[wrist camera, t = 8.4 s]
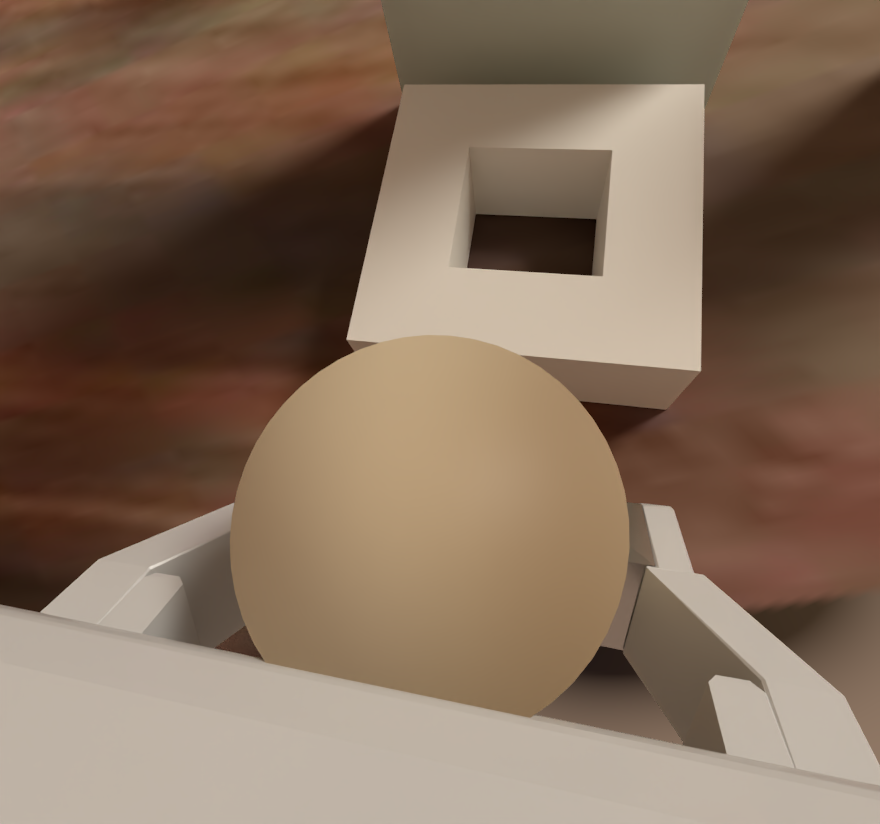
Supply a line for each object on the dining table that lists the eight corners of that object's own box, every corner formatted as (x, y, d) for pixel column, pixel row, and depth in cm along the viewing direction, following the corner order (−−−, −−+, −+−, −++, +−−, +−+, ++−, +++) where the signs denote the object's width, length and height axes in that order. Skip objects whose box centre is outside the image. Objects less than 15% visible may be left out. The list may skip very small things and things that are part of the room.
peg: (397, 620, 14) (180, 697, 5) (421, 478, 16) (282, 320, 6) (543, 647, 14) (617, 796, 4) (557, 496, 15) (639, 351, 5)
